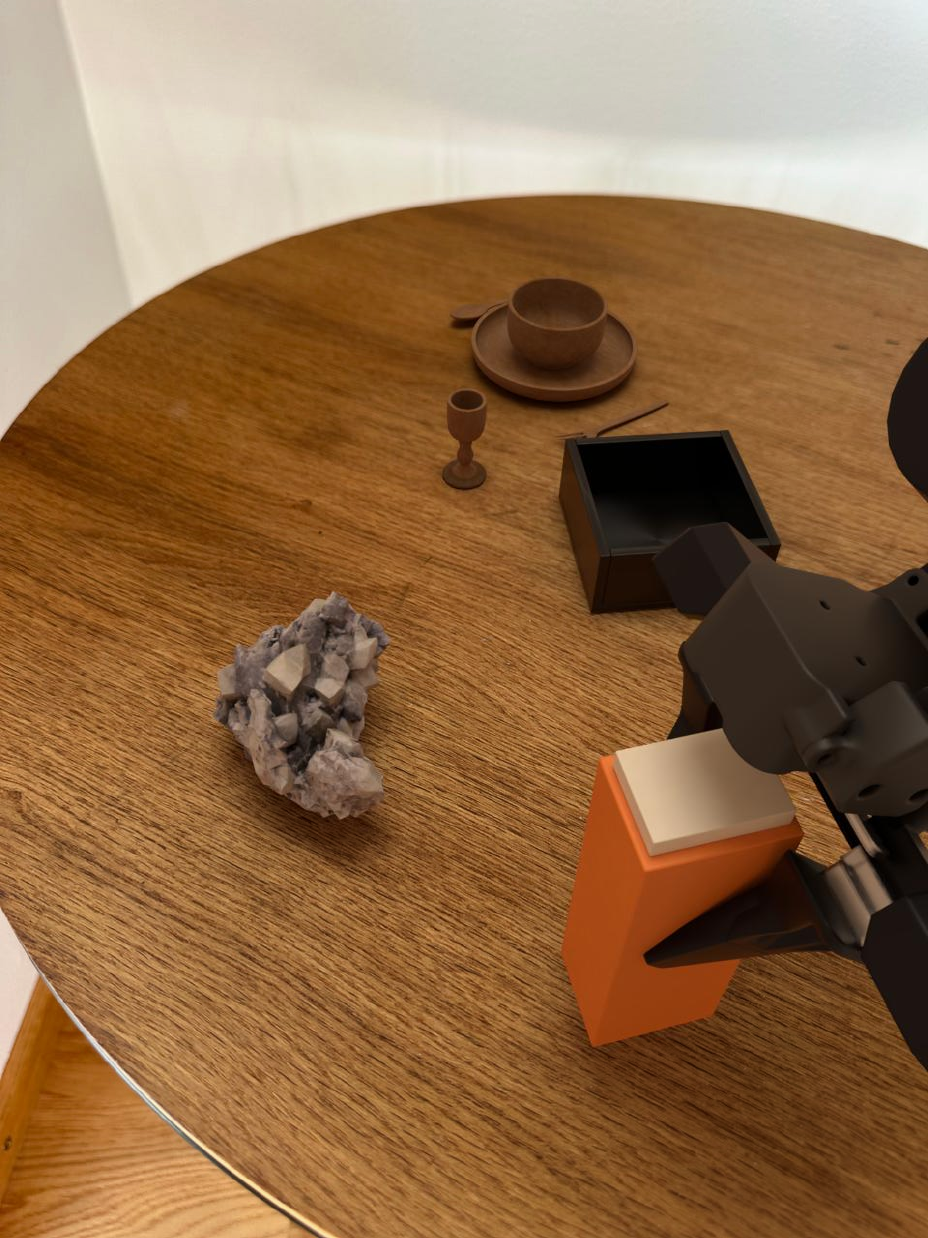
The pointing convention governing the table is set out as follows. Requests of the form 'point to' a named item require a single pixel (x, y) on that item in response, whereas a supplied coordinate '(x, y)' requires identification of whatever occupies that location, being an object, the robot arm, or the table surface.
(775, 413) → the table surface
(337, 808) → the mineral specimen
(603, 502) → the open black square box
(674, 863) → the block
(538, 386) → the place setting
